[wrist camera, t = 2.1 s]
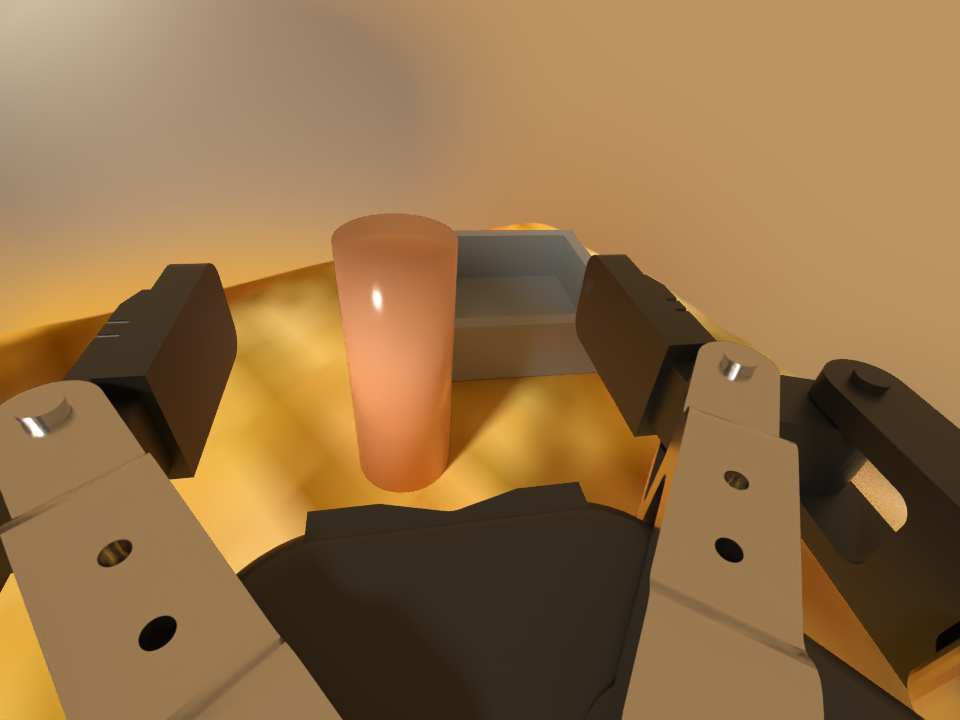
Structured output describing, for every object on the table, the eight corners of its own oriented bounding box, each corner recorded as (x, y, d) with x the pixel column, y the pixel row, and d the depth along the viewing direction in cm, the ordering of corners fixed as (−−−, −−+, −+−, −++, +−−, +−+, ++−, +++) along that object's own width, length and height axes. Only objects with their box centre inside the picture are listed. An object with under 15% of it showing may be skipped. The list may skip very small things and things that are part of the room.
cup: (359, 497, 28) (327, 269, 19) (360, 427, 33) (334, 213, 23) (453, 487, 29) (467, 266, 20) (442, 421, 34) (449, 213, 24)
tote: (424, 383, 37) (425, 329, 34) (410, 277, 49) (410, 231, 46) (622, 370, 40) (639, 319, 36) (562, 273, 52) (571, 229, 49)
